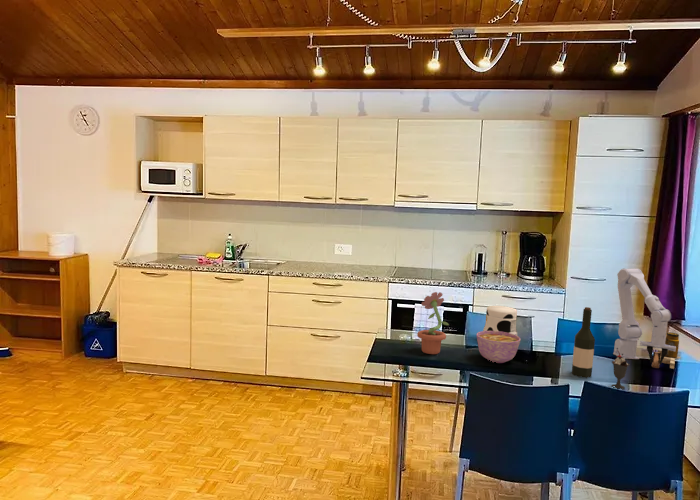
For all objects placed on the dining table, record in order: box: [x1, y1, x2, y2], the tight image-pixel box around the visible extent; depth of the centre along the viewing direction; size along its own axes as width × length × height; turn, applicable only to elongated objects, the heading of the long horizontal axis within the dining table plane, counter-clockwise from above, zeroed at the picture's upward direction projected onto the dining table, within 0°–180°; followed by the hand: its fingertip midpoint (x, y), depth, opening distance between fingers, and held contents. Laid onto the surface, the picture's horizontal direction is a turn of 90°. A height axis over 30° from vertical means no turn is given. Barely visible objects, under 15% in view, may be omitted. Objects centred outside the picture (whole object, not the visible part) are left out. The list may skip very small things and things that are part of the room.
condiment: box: [665, 331, 681, 360], centre depth 269 cm, size 7×8×12 cm
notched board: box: [660, 356, 676, 370], centre depth 256 cm, size 10×8×2 cm
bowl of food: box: [476, 330, 521, 364], centre depth 250 cm, size 20×20×12 cm
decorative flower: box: [416, 291, 450, 355], centre depth 257 cm, size 15×14×30 cm
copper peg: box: [651, 351, 661, 369], centre depth 251 cm, size 3×3×7 cm
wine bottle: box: [571, 306, 596, 379], centre depth 234 cm, size 8×8×30 cm
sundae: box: [611, 350, 630, 390], centre depth 221 cm, size 7×7×15 cm
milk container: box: [482, 305, 518, 336], centre depth 282 cm, size 17×17×18 cm
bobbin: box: [653, 348, 662, 356], centre depth 264 cm, size 6×6×6 cm
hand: (655, 363), depth 251 cm, fingers open, 3 cm apart
